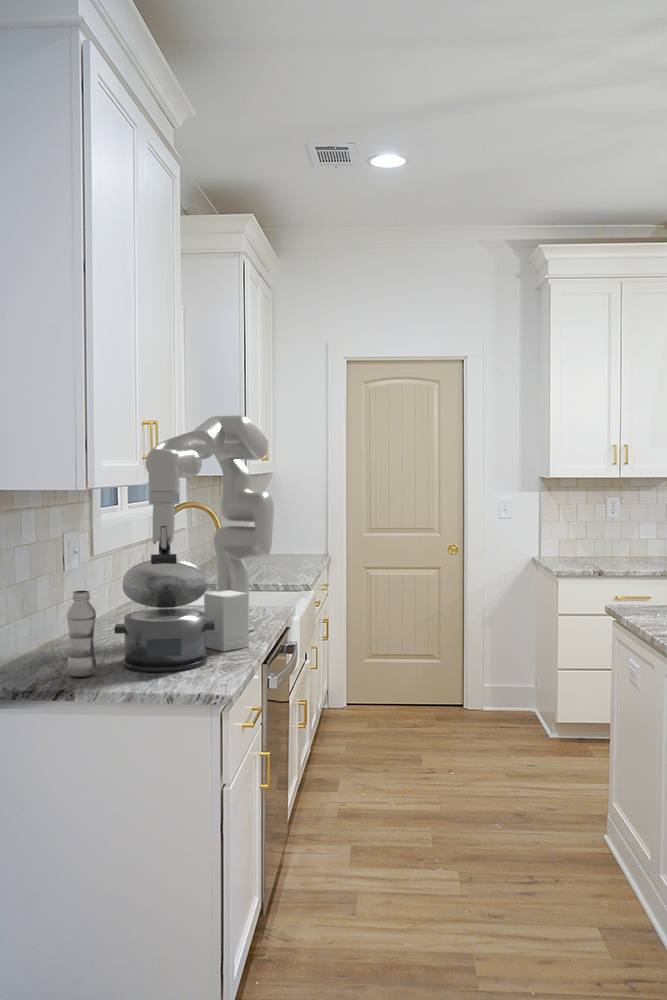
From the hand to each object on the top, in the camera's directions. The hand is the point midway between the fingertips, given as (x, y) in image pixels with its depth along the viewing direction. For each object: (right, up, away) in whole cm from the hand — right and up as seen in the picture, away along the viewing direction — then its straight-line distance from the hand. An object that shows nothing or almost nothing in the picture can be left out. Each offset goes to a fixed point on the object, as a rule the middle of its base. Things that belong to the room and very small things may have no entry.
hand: (164, 571), depth 199 cm
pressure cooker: (0, -23, +1) cm, 23 cm away
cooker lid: (0, -4, +1) cm, 4 cm away
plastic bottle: (-17, -24, -13) cm, 32 cm away
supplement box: (+13, -23, +18) cm, 32 cm away
